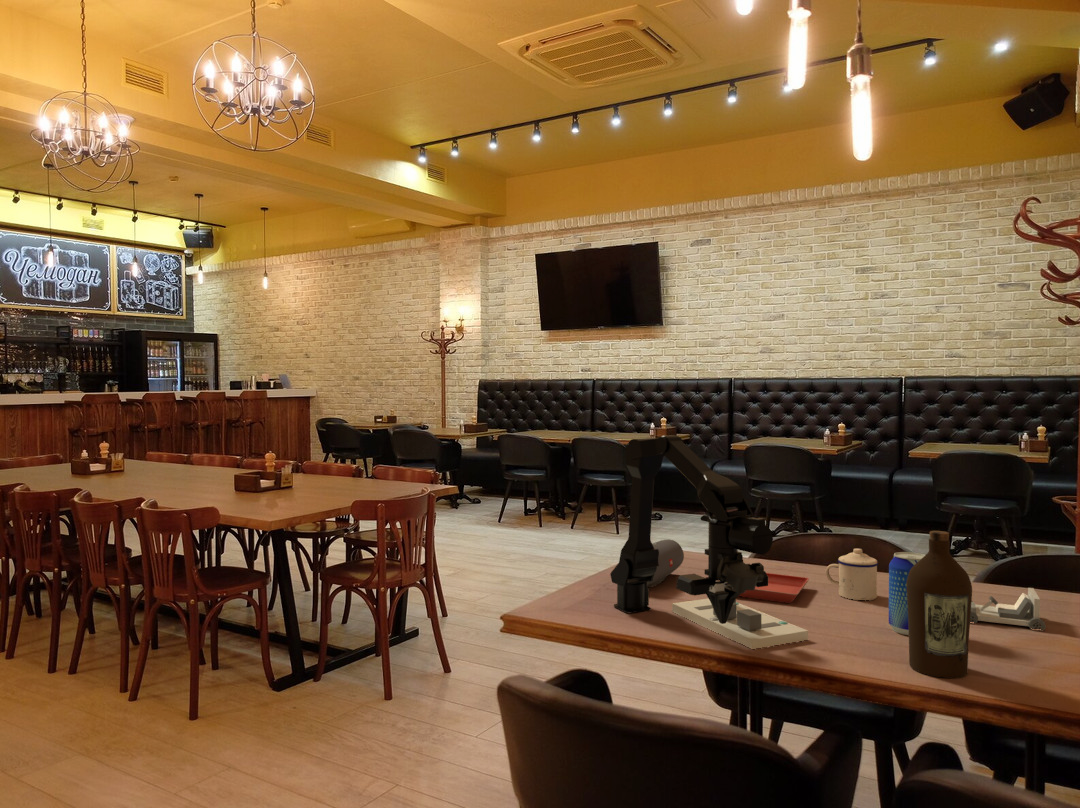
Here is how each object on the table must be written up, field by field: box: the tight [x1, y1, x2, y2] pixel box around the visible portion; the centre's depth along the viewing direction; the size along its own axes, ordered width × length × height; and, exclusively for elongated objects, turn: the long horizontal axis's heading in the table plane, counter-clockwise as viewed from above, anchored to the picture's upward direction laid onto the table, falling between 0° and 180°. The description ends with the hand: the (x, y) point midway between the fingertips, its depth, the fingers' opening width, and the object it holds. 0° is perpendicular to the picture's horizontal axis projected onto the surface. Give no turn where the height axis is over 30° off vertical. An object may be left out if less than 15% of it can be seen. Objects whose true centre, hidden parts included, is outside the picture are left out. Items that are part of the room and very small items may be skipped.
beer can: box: [888, 551, 926, 636], centre depth 163 cm, size 8×8×16 cm
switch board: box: [671, 598, 809, 650], centre depth 167 cm, size 14×28×2 cm, turn 24°
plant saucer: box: [739, 572, 810, 604], centre depth 195 cm, size 18×18×3 cm
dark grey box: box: [713, 603, 736, 619], centre depth 166 cm, size 3×4×3 cm
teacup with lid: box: [825, 548, 879, 602], centre depth 191 cm, size 12×9×12 cm
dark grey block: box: [737, 609, 761, 631], centre depth 159 cm, size 3×4×3 cm
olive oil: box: [906, 530, 973, 679], centre depth 141 cm, size 11×11×25 cm
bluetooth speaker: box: [647, 539, 685, 588], centre depth 204 cm, size 23×9×10 cm, turn 150°
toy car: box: [970, 587, 1047, 631], centre depth 172 cm, size 18×10×12 cm
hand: (722, 623), depth 156 cm, fingers closed
